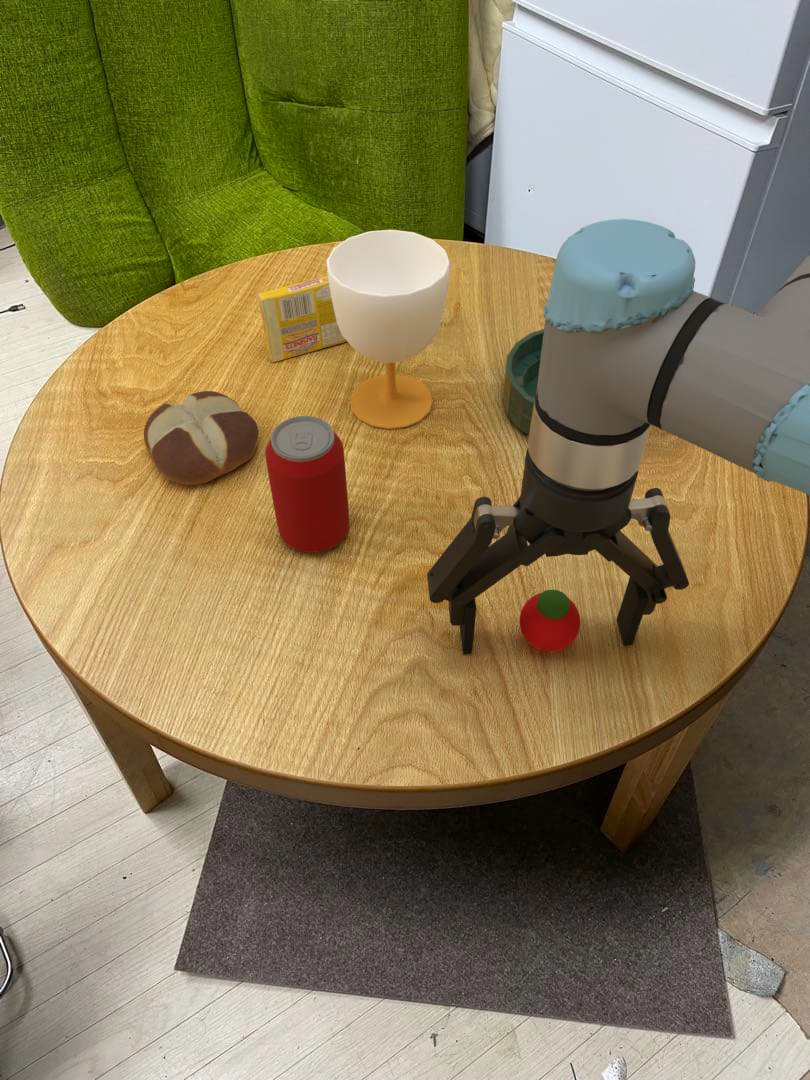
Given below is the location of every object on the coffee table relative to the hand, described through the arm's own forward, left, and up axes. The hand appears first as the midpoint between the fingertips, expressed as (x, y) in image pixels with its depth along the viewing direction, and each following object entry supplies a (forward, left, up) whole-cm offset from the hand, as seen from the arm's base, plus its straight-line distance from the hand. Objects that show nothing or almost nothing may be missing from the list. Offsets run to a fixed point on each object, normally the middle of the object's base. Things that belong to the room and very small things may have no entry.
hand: (545, 637), depth 74 cm
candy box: (+37, -29, 0) cm, 47 cm away
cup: (+26, -22, 0) cm, 34 cm away
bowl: (+8, -30, 0) cm, 31 cm away
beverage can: (+24, -2, 0) cm, 24 cm away
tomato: (0, 0, 0) cm, 0 cm away
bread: (+40, -7, 0) cm, 40 cm away
